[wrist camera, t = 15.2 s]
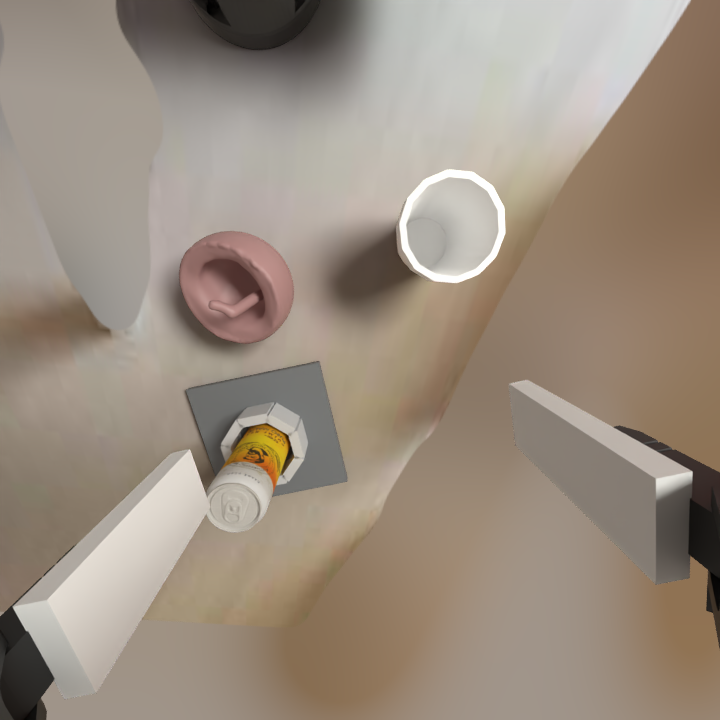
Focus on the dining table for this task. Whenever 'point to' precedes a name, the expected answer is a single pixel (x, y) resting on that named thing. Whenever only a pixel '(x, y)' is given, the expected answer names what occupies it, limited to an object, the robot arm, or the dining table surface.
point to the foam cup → (450, 227)
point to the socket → (274, 422)
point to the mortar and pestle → (237, 286)
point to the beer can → (248, 479)
